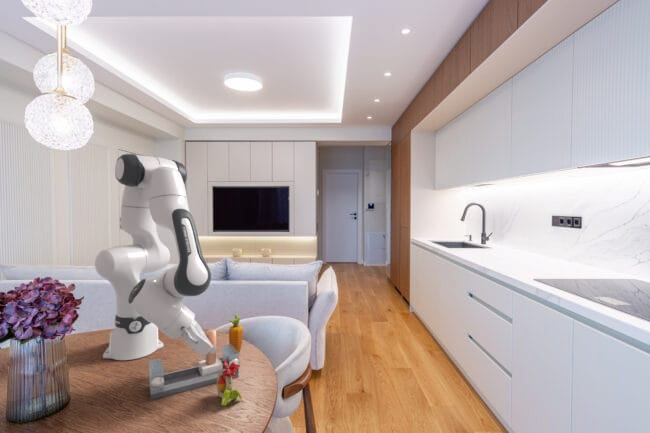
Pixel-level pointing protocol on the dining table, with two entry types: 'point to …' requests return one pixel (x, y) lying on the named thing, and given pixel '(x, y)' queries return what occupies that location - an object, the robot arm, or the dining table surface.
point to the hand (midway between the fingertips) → (213, 348)
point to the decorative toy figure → (227, 383)
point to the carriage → (210, 357)
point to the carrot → (236, 334)
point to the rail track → (185, 376)
